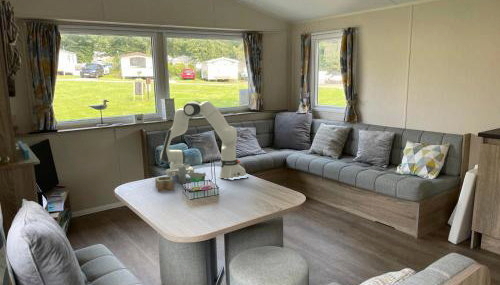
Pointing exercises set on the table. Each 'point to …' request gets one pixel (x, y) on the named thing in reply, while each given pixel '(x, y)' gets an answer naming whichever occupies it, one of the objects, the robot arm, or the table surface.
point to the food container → (197, 177)
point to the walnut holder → (164, 183)
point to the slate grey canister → (182, 174)
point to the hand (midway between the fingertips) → (182, 174)
